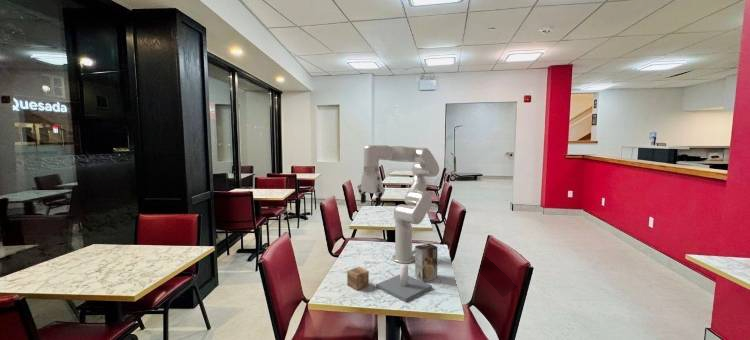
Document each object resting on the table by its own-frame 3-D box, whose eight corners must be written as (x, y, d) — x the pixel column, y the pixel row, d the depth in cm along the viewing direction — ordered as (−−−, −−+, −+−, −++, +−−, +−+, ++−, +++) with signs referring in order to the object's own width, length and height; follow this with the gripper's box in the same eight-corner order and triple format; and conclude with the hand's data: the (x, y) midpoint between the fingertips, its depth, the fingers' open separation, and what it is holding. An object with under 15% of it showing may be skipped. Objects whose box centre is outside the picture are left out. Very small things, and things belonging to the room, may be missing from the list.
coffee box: (429, 273, 157) (430, 242, 156) (437, 278, 151) (438, 246, 150) (414, 277, 153) (414, 245, 152) (422, 282, 147) (422, 249, 146)
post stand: (402, 276, 154) (402, 255, 153) (432, 288, 141) (432, 266, 140) (376, 287, 142) (376, 265, 141) (405, 302, 129) (405, 277, 128)
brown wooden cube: (359, 280, 149) (359, 266, 148) (368, 285, 144) (368, 271, 143) (347, 285, 144) (347, 270, 143) (356, 290, 139) (356, 275, 138)
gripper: (389, 170, 152) (388, 205, 153) (363, 168, 163) (362, 201, 164) (379, 171, 146) (379, 207, 147) (353, 169, 157) (352, 202, 158)
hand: (370, 204), depth 156 cm, fingers open, 9 cm apart
